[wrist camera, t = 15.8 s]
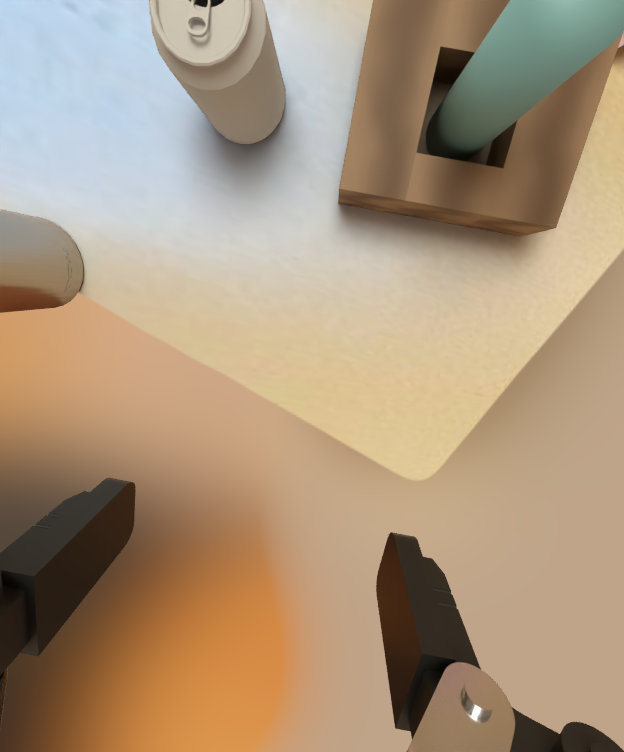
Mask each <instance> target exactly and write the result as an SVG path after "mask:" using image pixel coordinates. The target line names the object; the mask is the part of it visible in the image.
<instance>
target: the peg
mask: <svg viewBox="0 0 624 752" xmlns="http://www.w3.org/2000/svg"><path fill="white" fill-rule="evenodd" d="M623 32H624V0H510V1H509V3H508V4H507V6H506V7H505V9H504V10H503V12H502V13H501V15H500V16H499V18H498V19H497V21H496V22H495V24H494V25H493V27H492V28H491V30H490V31H489V33H488V34H487V35H486V37H485V38H484V40H483V41H482V43H481V44H480V46H479V47H478V49H477V50H476V52H475V53H474V55H473V56H472V58H471V59H470V61H469V62H468V64H467V65H466V67H465V68H464V70H463V71H462V73H461V74H460V76H459V77H458V79H457V80H456V81H455V83H454V84H453V86H452V87H451V89H450V90H449V92H448V93H447V95H446V96H445V98H444V99H443V101H442V102H441V104H440V105H439V107H438V108H437V110H436V111H435V113H434V114H433V116H432V117H431V119H430V121H429V123H428V126H427V130H426V145H427V148H428V151H429V153H430V155H432V156H437V157H443V158H448V159H454V160H460V161H465V162H466V161H467V160H469V159H470V158H471V157H472V156H474V155H475V154H476V153H477V152H478V151H480V150H481V149H482V148H483V147H485V146H486V145H487V144H488V143H490V142H491V141H492V140H493V139H495V138H496V137H497V136H498V135H500V134H501V133H502V132H503V131H504V130H506V129H507V128H508V127H509V126H511V125H512V124H513V123H514V122H516V121H517V120H518V119H519V118H521V117H522V116H523V115H524V114H525V113H527V112H528V111H529V110H530V109H532V108H533V107H534V106H535V105H537V104H538V103H539V102H540V101H542V100H543V99H544V98H545V97H547V96H548V95H549V94H550V93H551V92H553V91H554V90H555V89H556V88H558V87H559V86H560V85H561V84H563V83H564V82H565V81H566V80H568V79H569V78H570V77H571V76H572V75H574V74H575V73H576V72H577V71H579V70H580V69H581V68H582V67H584V66H585V65H586V64H587V63H589V62H590V61H591V60H592V59H593V58H595V57H596V56H597V55H598V54H600V53H601V52H602V51H603V50H605V49H606V48H607V47H608V46H610V45H611V44H612V43H613V42H614V41H615V40H616V39H617V38H618V37H619V36H620V35H621V34H622V33H623Z"/></svg>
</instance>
